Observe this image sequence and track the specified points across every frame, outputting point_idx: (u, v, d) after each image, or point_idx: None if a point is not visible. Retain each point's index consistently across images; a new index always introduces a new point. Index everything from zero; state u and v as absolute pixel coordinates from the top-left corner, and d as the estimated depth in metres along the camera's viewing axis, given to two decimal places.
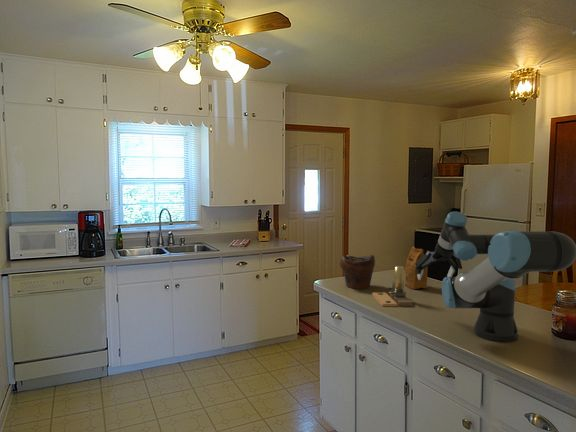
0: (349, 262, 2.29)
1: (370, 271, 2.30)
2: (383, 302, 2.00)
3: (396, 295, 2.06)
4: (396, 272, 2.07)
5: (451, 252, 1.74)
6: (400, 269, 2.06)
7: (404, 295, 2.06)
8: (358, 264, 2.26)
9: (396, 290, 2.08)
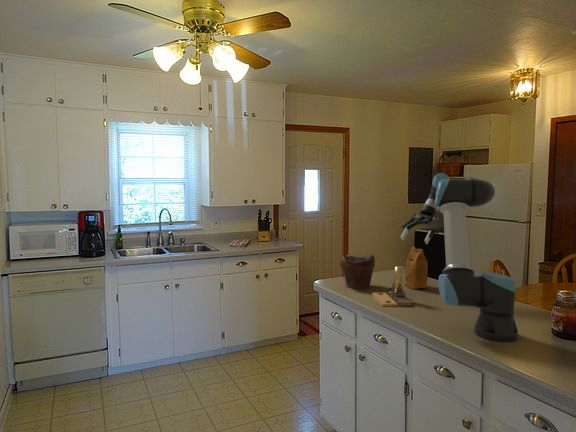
0: (349, 262, 2.29)
1: (370, 271, 2.30)
2: (383, 302, 2.00)
3: (396, 295, 2.06)
4: (396, 272, 2.07)
5: (428, 207, 2.20)
6: (400, 269, 2.06)
7: (404, 295, 2.06)
8: (358, 264, 2.26)
9: (396, 290, 2.08)
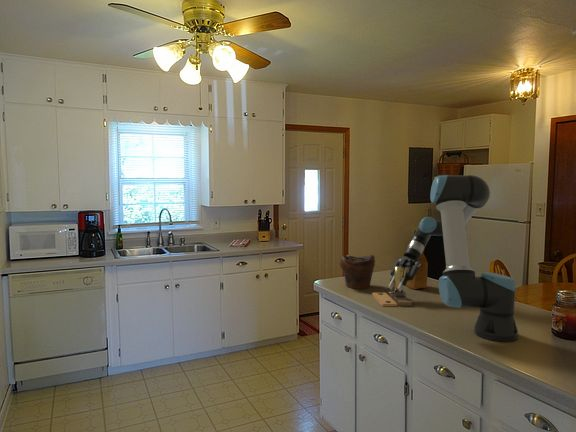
0: (349, 262, 2.29)
1: (370, 271, 2.30)
2: (383, 302, 2.00)
3: (396, 295, 2.06)
4: (396, 272, 2.07)
5: (412, 249, 2.13)
6: (400, 269, 2.06)
7: (404, 295, 2.06)
8: (358, 264, 2.26)
9: (396, 290, 2.08)
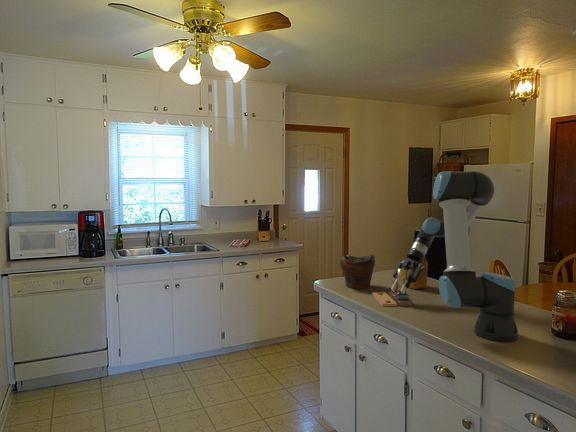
0: (349, 262, 2.29)
1: (370, 271, 2.30)
2: (383, 302, 2.00)
3: (399, 298, 2.02)
4: (399, 274, 2.03)
5: (415, 251, 2.08)
6: (403, 271, 2.01)
7: (407, 298, 2.02)
8: (358, 264, 2.26)
9: (399, 293, 2.03)
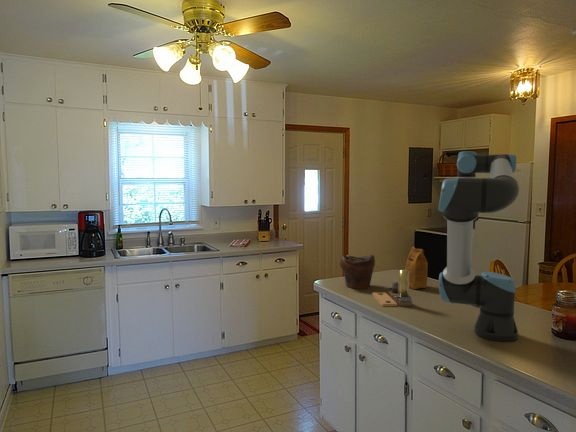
0: (349, 262, 2.29)
1: (370, 271, 2.30)
2: (383, 302, 2.00)
3: (401, 300, 1.98)
4: (401, 276, 1.99)
5: None
6: (405, 273, 1.98)
7: (409, 300, 1.98)
8: (358, 264, 2.26)
9: (401, 294, 2.00)
